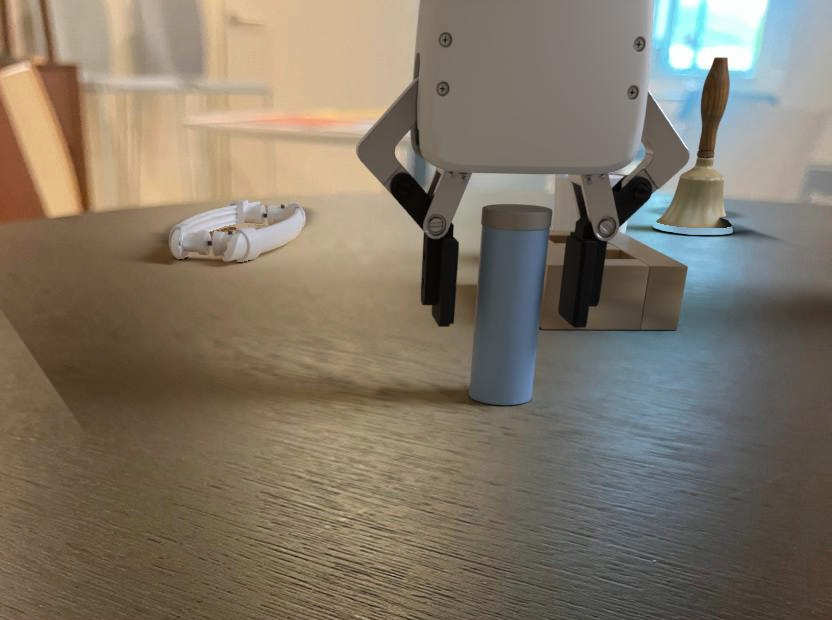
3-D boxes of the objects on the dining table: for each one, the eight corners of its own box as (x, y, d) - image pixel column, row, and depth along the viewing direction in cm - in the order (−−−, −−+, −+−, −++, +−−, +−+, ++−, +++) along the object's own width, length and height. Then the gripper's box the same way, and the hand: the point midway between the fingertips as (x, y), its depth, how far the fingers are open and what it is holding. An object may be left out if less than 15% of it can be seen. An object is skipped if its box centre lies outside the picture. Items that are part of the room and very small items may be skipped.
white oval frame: (323, 228, 105) (260, 268, 84) (230, 224, 106) (145, 261, 85) (323, 200, 104) (259, 233, 82) (229, 196, 105) (143, 227, 84)
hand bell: (731, 238, 103) (765, 57, 96) (647, 232, 106) (674, 56, 98) (735, 228, 110) (768, 58, 102) (657, 223, 113) (682, 57, 105)
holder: (611, 285, 80) (619, 230, 78) (677, 330, 66) (688, 266, 65) (498, 284, 79) (503, 229, 77) (541, 329, 66) (548, 264, 64)
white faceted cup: (575, 271, 85) (586, 180, 81) (530, 258, 90) (538, 171, 87) (641, 267, 87) (655, 178, 84) (594, 254, 93) (604, 170, 89)
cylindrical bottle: (525, 387, 54) (544, 204, 50) (538, 406, 51) (559, 213, 47) (463, 387, 54) (477, 203, 49) (473, 406, 51) (488, 212, 46)
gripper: (720, -110, 45) (653, 307, 54) (334, -123, 44) (330, 304, 53) (792, -139, 39) (703, 340, 48) (342, -154, 38) (336, 338, 47)
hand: (507, 317), depth 50 cm, fingers open, 5 cm apart
